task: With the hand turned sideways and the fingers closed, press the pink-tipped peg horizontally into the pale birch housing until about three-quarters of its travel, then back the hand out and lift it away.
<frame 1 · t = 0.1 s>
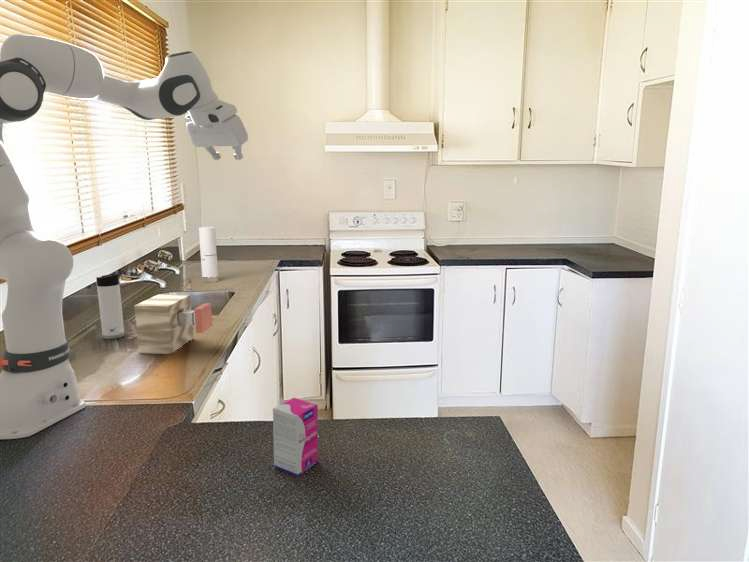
hand: (228, 159, 156), 54 cm above the worktop, tool tilted 30°, fingers open, 8 cm apart
pink-tipped peg: (184, 317, 161), point 9 cm above the worktop, slide at 0.0 cm
cylindrical container: (210, 281, 254), on the worktop
travel mug: (114, 336, 173), on the worktop
housing: (167, 345, 164), on the worktop
supplement box: (296, 466, 98), on the worktop
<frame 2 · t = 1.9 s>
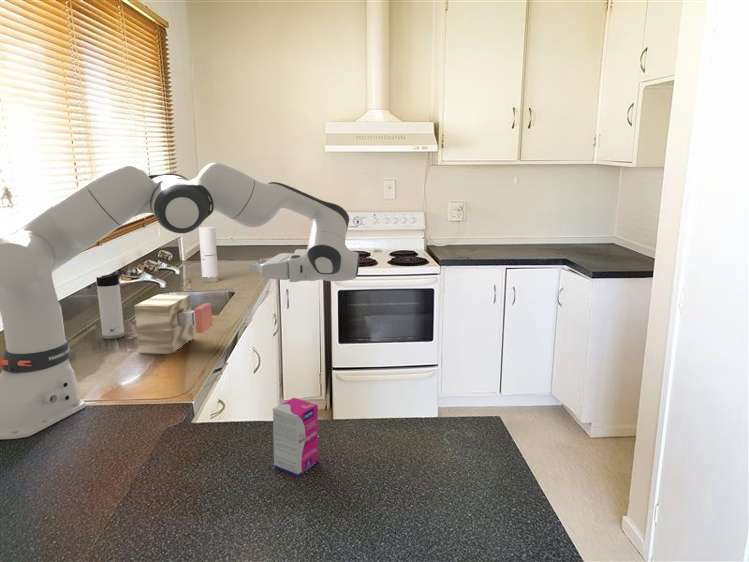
hand: (254, 264, 155), 25 cm above the worktop, tool horizontal, fingers open, 6 cm apart
nothing on the worktop moved.
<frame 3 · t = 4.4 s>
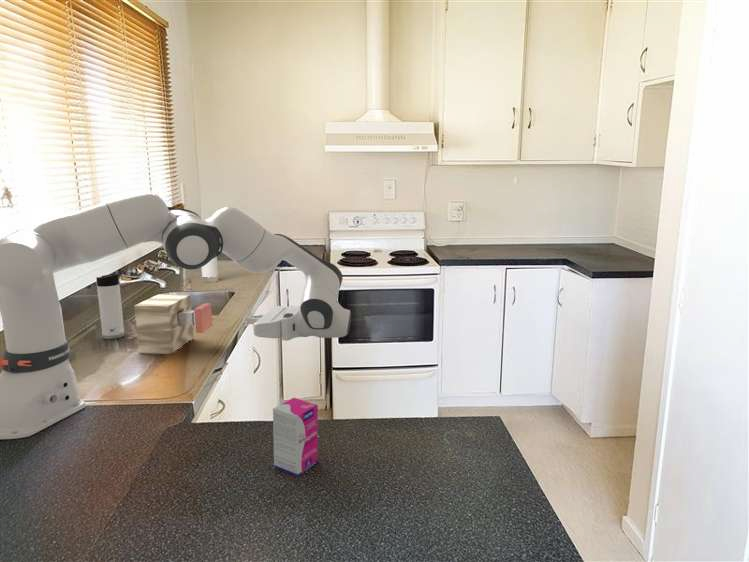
hand: (248, 319, 159), 9 cm above the worktop, tool horizontal, fingers closed
nothing on the worktop moved.
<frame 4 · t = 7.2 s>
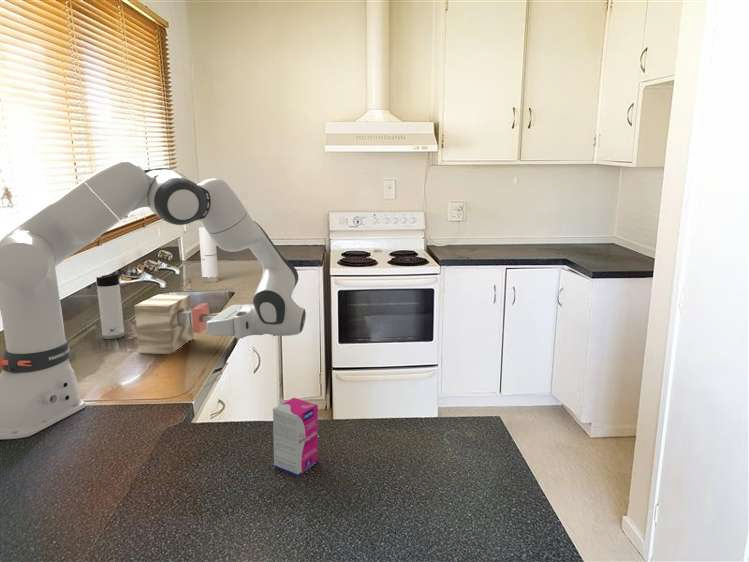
hand: (204, 318, 160), 9 cm above the worktop, tool horizontal, fingers closed, pressing on pink-tipped peg
pink-tipped peg: (181, 317, 161), point 9 cm above the worktop, slide at 0.8 cm, touching gripper
everything else where it was.
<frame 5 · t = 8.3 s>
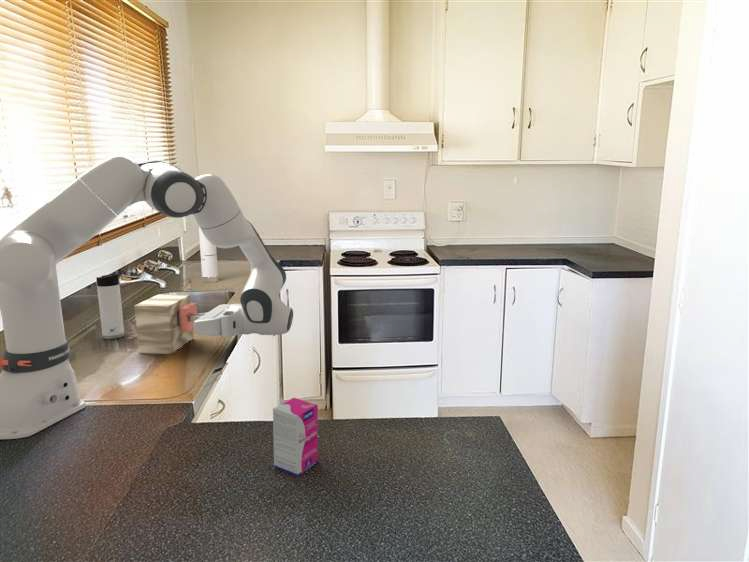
hand: (192, 317, 161), 9 cm above the worktop, tool horizontal, fingers closed, pressing on pink-tipped peg
pink-tipped peg: (169, 316, 162), point 9 cm above the worktop, slide at 4.6 cm, touching gripper
everything else where it was.
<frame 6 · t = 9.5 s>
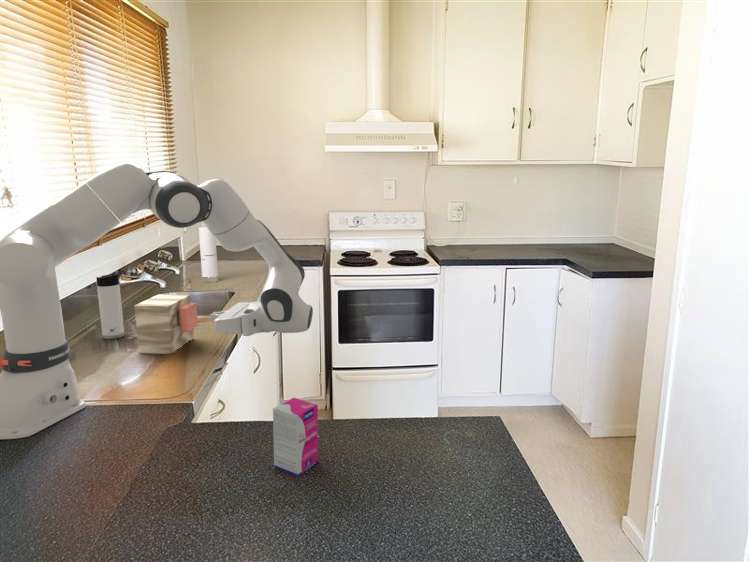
hand: (211, 316, 160), 9 cm above the worktop, tool horizontal, fingers closed
pink-tipped peg: (169, 316, 162), point 9 cm above the worktop, slide at 4.6 cm
everything else where it was.
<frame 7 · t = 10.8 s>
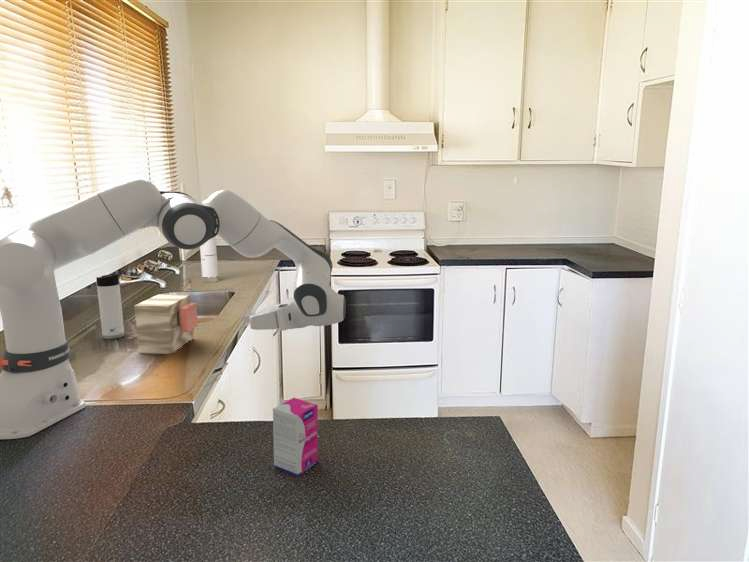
hand: (244, 318, 159), 9 cm above the worktop, tool horizontal, fingers closed
nothing on the worktop moved.
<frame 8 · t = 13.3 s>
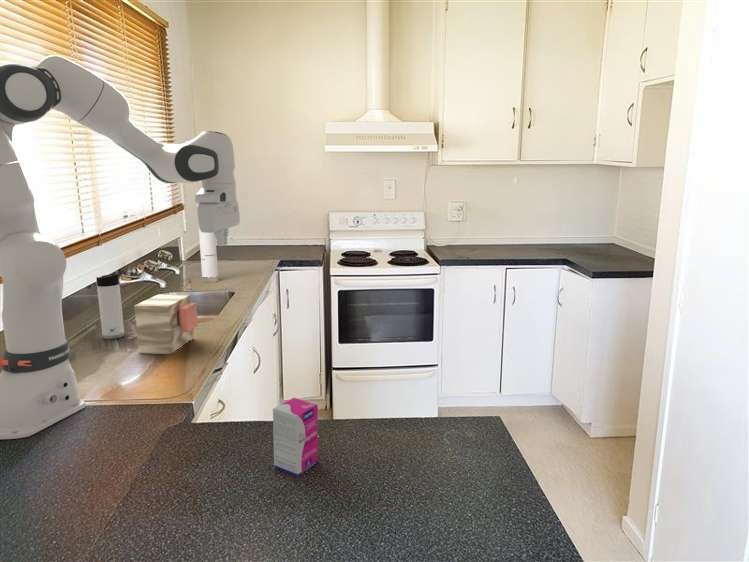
hand: (222, 245, 150), 31 cm above the worktop, tool pointing down, fingers closed
nothing on the worktop moved.
at the end: pink-tipped peg slide at 4.6 cm; travel mug moved 0.2 cm from its start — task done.
